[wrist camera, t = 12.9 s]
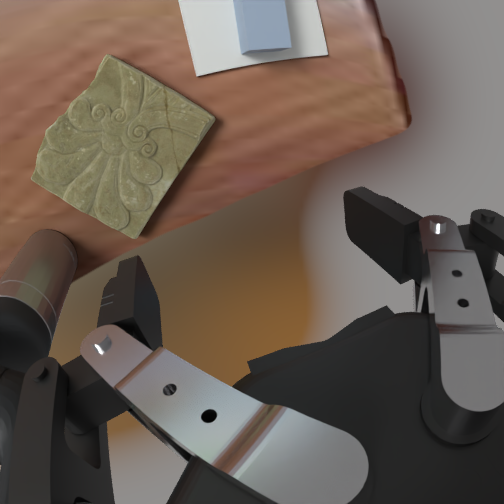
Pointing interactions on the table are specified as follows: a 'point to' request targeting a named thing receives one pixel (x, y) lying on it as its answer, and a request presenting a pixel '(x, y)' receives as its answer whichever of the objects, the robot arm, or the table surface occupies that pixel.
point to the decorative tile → (120, 146)
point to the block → (262, 25)
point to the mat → (227, 40)
